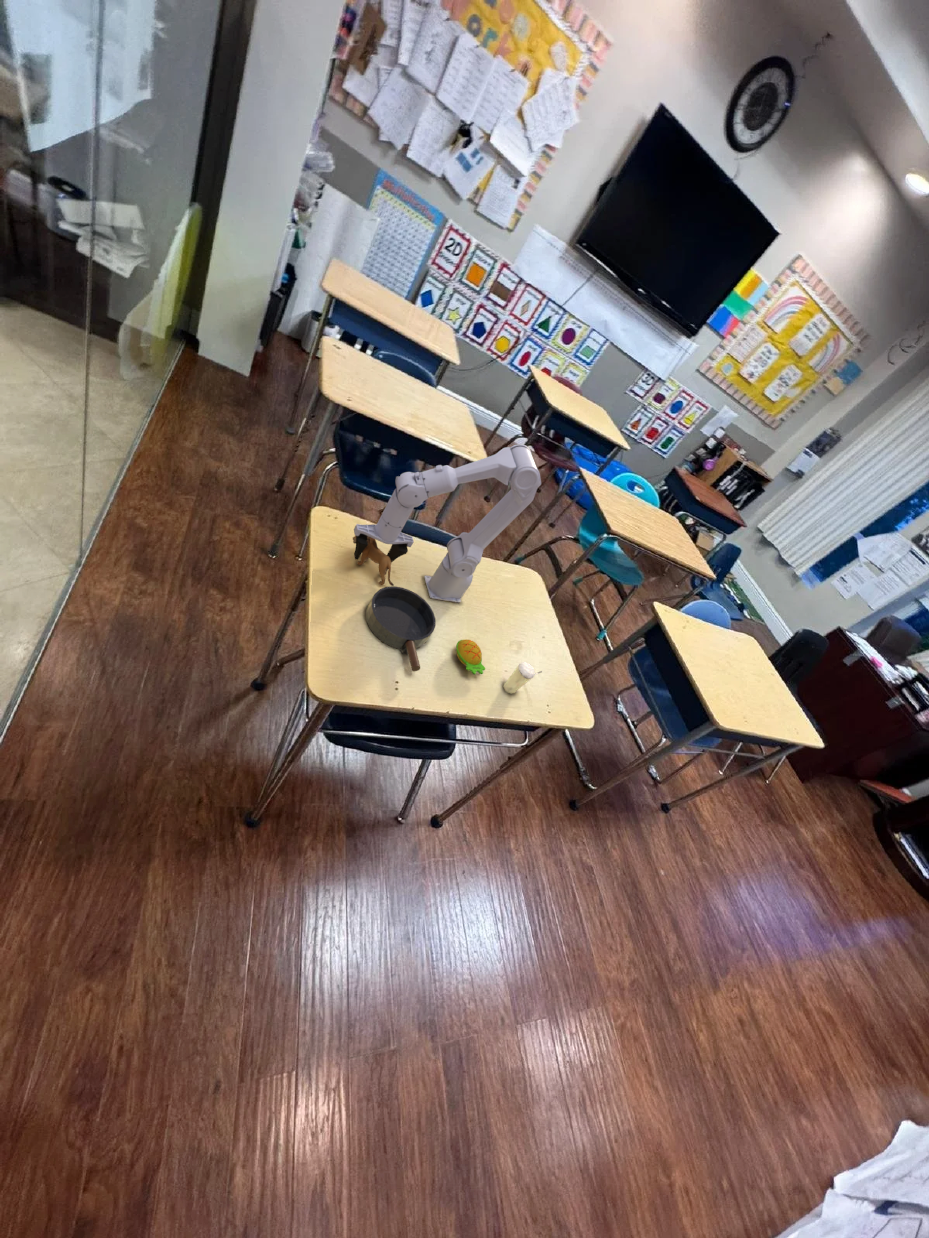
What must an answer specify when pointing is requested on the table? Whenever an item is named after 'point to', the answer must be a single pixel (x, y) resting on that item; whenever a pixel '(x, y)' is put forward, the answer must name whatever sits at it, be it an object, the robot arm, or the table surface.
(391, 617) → the pan
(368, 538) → the lion figurine
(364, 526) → the robot arm
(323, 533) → the table surface
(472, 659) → the toy pineapple
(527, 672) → the milkshake
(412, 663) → the pan handle
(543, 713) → the table surface
